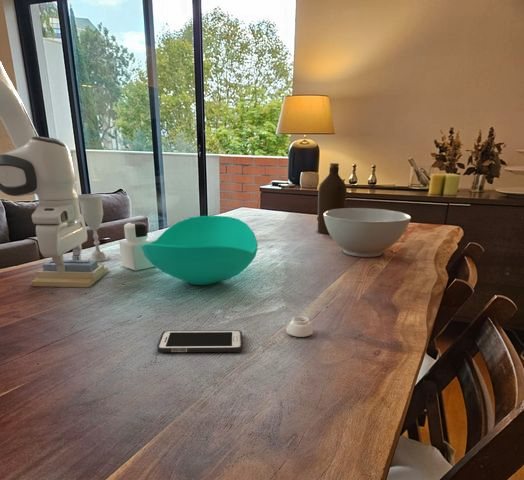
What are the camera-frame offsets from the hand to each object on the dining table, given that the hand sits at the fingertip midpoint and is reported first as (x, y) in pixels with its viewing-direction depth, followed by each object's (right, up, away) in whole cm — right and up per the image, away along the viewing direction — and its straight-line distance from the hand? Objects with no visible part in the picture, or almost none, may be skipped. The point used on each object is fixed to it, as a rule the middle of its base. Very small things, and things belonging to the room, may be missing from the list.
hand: (70, 266), depth 116 cm
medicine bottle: (+14, +2, +13) cm, 19 cm away
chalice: (0, +6, +20) cm, 20 cm away
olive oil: (+75, +25, +63) cm, 101 cm away
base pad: (0, -3, +1) cm, 3 cm away
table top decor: (+34, -4, +1) cm, 34 cm away
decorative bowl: (+82, +10, +32) cm, 88 cm away
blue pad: (0, -2, +1) cm, 2 cm away
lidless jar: (+56, -18, -29) cm, 66 cm away
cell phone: (+38, -20, -34) cm, 55 cm away
